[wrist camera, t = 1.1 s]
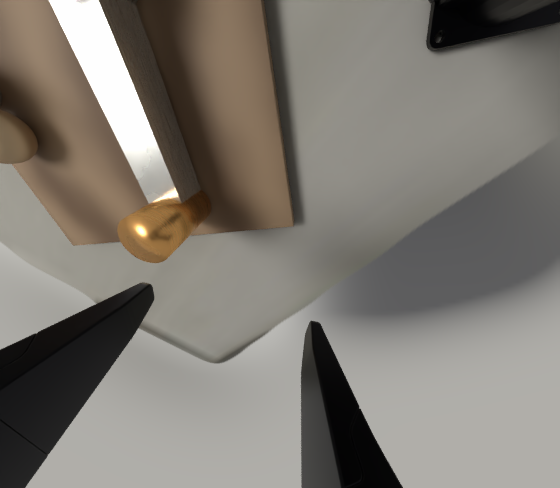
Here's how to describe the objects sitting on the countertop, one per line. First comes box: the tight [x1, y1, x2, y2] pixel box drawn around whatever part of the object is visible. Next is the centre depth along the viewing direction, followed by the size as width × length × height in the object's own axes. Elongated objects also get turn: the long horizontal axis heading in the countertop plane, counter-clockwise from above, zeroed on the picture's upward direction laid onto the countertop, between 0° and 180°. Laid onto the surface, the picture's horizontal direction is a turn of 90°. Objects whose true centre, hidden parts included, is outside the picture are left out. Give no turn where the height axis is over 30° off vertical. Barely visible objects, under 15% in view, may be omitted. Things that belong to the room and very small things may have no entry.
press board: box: [0, 0, 294, 246], centre depth 13 cm, size 23×22×7 cm
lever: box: [49, 0, 211, 263], centre depth 11 cm, size 20×4×6 cm, turn 9°
